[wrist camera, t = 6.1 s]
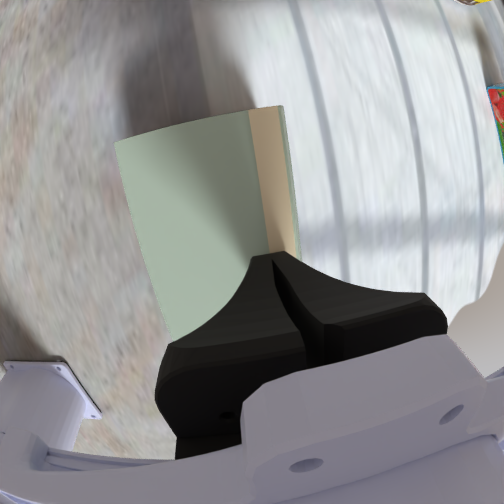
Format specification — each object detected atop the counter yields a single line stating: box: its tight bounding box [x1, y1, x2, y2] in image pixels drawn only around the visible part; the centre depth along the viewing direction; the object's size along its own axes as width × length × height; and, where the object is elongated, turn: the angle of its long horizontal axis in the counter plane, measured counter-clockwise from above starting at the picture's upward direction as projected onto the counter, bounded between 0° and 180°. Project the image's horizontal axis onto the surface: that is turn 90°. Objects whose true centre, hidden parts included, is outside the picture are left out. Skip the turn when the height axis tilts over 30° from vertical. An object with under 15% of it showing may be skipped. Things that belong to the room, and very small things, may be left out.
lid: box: [114, 105, 302, 342], centre depth 13 cm, size 7×12×1 cm, turn 9°
